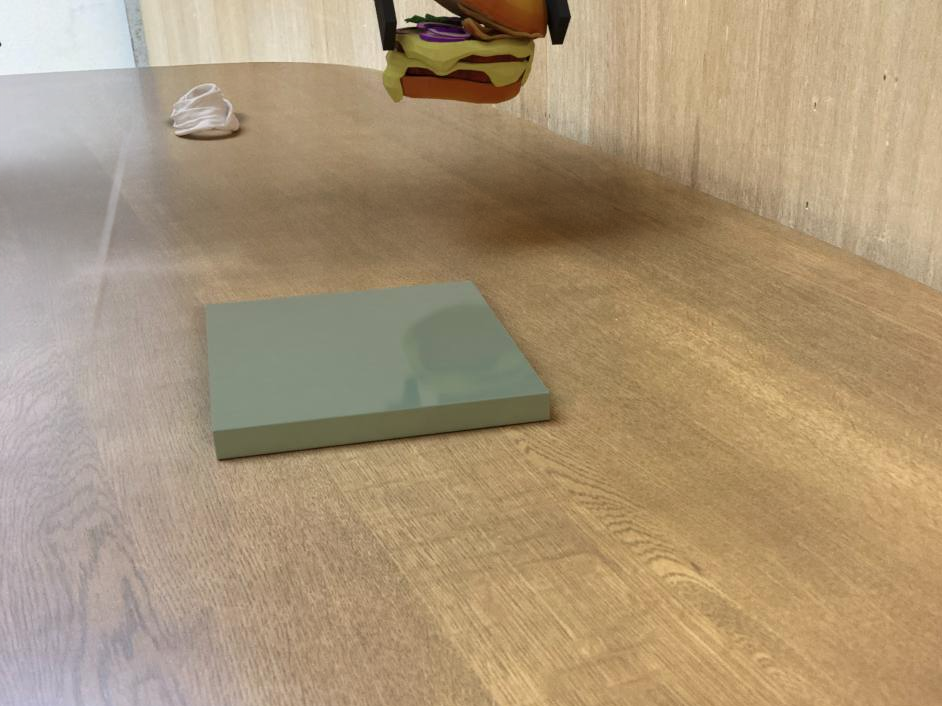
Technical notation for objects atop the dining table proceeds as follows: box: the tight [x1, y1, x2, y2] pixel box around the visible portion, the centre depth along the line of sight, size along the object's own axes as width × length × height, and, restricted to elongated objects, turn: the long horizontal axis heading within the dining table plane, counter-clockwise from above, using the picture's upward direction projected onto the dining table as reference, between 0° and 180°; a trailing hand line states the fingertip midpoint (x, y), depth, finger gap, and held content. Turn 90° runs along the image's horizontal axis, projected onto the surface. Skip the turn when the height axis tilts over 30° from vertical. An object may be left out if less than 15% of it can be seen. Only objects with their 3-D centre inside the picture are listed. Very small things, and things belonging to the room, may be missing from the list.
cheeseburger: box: [381, 0, 548, 105], centre depth 78 cm, size 10×11×10 cm
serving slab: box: [204, 280, 551, 460], centre depth 62 cm, size 18×16×2 cm
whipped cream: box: [170, 83, 240, 136], centre depth 116 cm, size 8×7×5 cm
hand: (477, 34), depth 75 cm, fingers closed on cheeseburger, 11 cm apart
